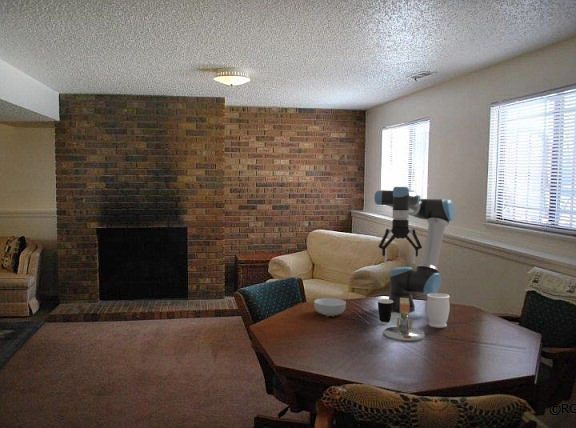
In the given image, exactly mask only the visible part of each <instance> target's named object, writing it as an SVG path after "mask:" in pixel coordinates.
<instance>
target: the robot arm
mask: <svg viewBox="0 0 576 428" xmlns="http://www.w3.org/2000/svg"><path fill="white" fill-rule="evenodd" d="M373 199H374V203H375V205H378V206H387V207H390V208H392V222H391V223H392V227H391V229H388V228H385V232H384V235H383V237H382V238H381V241H380V242H379V244H378V249H381V251H382V252H381V254H382V257H383V258H384V260H383V261H384V264H387V263H388V262H387V261H388V260H387V258H388V250H387V248H388V246H389V245H390V244H391V243H392V242H393V241H394V240H395V239H406V240H407V242H408V243H409V244H410V245H411V246H412V247H413V249H412V264H414V265H415V264H416V259H417V258H416V257H418V256H419V250H420V249H422V248H423V250H422V255H421V261H420V264H419V265H417V266H416V269H415V270H413V267H412V266H399V267H398V266H397V267H394V268H392V269H390V275H389V297H388V299H389V300H392V301H393V305H392V312H394V313H401V311H400V298H409V304H410V312H409V313H411V312H415V308H416V307H415V302H414V299H413V295H412V293H416V294H422V295H426V296H427V294H430V293H439V290H440V288H441V285H442V275H441V274H440V271H439V269H438V263H439V258H440V253H441V249H442V245H443V239H444V233H445V228H446V227H447V226H449V224H450V222H452V221H454V220H455V208H454V207H455V206H454V203H453V201H451V199H443V198H442V199H441V198H440V199H439V198H438V199H437V198H434V199H433V198H421V195H420V193H419V192H418V191H416V190H410V188H409V187H408V186H394V187H393V188H392V190H385V189H382V190H381V189H380V190H377V191H375V193H374V198H373ZM409 216H411V217H414V218H418V219H421V220H426V222H427V223H428V228H427V232H426V236H425V241H424V246H423V247H422V243H421V242H420V240H419V238H418V236H417V233H416V229H414V228H412V229H409ZM409 233H410V234H411V235H412V237H413V239H414V241H415V242H413V241H412V239H411V237H409ZM389 234H392V235H391V236H390V238H389V239H388V240H387V238H388V237H389ZM386 240H387V241H386ZM415 243H416V244H415Z"/></svg>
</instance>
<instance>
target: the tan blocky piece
mask: <svg viewBox="0 0 576 428" xmlns="http://www.w3.org/2000/svg"><path fill="white" fill-rule="evenodd" d="M400 311H401V312H400V317H408V327H409V329H412V328H413V326H412V324H413V323H412V322H413V320H412V318H409V313H411V312H410V304H409V298H400ZM400 317H396V327H397V329H399V325H400Z"/></svg>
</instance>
